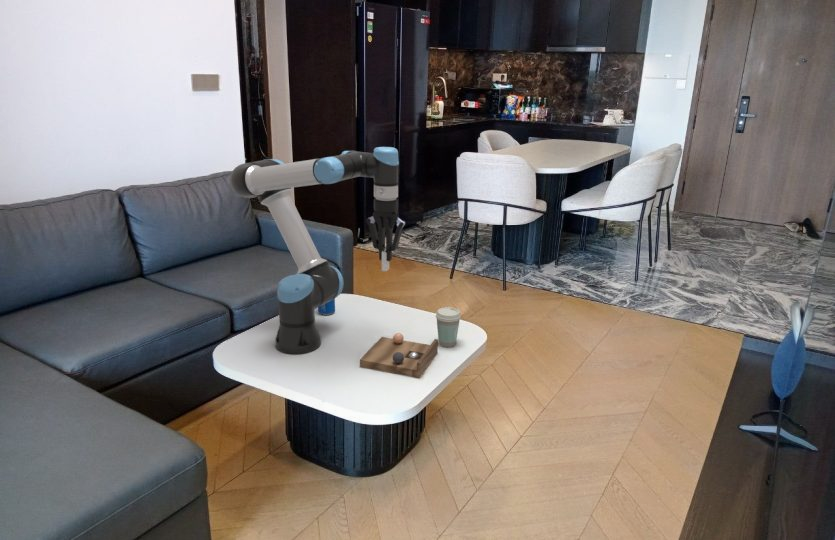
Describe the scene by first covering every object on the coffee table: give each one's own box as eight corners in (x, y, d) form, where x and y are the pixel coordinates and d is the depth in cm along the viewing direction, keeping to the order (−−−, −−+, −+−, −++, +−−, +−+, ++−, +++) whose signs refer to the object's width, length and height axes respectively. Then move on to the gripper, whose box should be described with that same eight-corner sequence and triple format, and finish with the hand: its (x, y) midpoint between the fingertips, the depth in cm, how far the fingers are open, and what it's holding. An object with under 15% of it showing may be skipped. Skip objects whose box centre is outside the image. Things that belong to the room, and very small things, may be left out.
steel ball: (405, 360, 186) (409, 352, 185) (408, 356, 189) (413, 348, 188) (414, 366, 186) (418, 358, 184) (417, 361, 189) (422, 354, 187)
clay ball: (391, 344, 194) (391, 334, 193) (395, 340, 197) (395, 330, 196) (401, 346, 193) (401, 336, 191) (405, 341, 196) (405, 332, 195)
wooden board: (359, 366, 184) (359, 352, 182) (381, 343, 200) (381, 330, 198) (419, 378, 178) (420, 363, 176) (437, 353, 194) (437, 339, 192)
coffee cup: (457, 350, 196) (459, 317, 192) (432, 347, 197) (433, 315, 194) (461, 339, 204) (462, 307, 200) (437, 337, 205) (438, 305, 201)
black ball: (391, 364, 180) (391, 354, 179) (395, 359, 184) (395, 349, 182) (401, 366, 179) (401, 355, 178) (405, 361, 183) (405, 351, 181)
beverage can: (315, 315, 222) (314, 285, 218) (321, 308, 228) (320, 280, 224) (332, 316, 221) (331, 287, 217) (337, 310, 227) (336, 281, 223)
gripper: (361, 198, 180) (362, 270, 188) (400, 202, 176) (399, 276, 183) (371, 194, 187) (371, 264, 194) (409, 197, 182) (408, 269, 190)
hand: (385, 269), depth 189 cm, fingers closed
